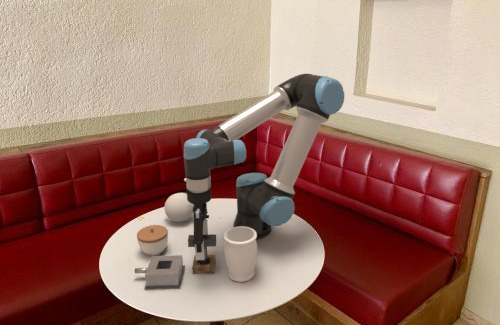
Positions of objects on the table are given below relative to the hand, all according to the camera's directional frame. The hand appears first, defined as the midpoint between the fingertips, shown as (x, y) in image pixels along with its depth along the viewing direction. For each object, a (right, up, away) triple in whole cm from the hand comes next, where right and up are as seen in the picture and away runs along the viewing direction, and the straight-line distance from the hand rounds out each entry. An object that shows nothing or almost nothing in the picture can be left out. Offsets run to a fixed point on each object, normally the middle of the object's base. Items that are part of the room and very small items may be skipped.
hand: (202, 247), depth 124 cm
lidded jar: (-19, -4, +13) cm, 23 cm away
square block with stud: (-14, -9, -2) cm, 17 cm away
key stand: (0, -7, +3) cm, 8 cm away
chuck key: (0, -7, +3) cm, 8 cm away
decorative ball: (-13, +4, +33) cm, 36 cm away
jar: (+13, -9, -1) cm, 16 cm away
